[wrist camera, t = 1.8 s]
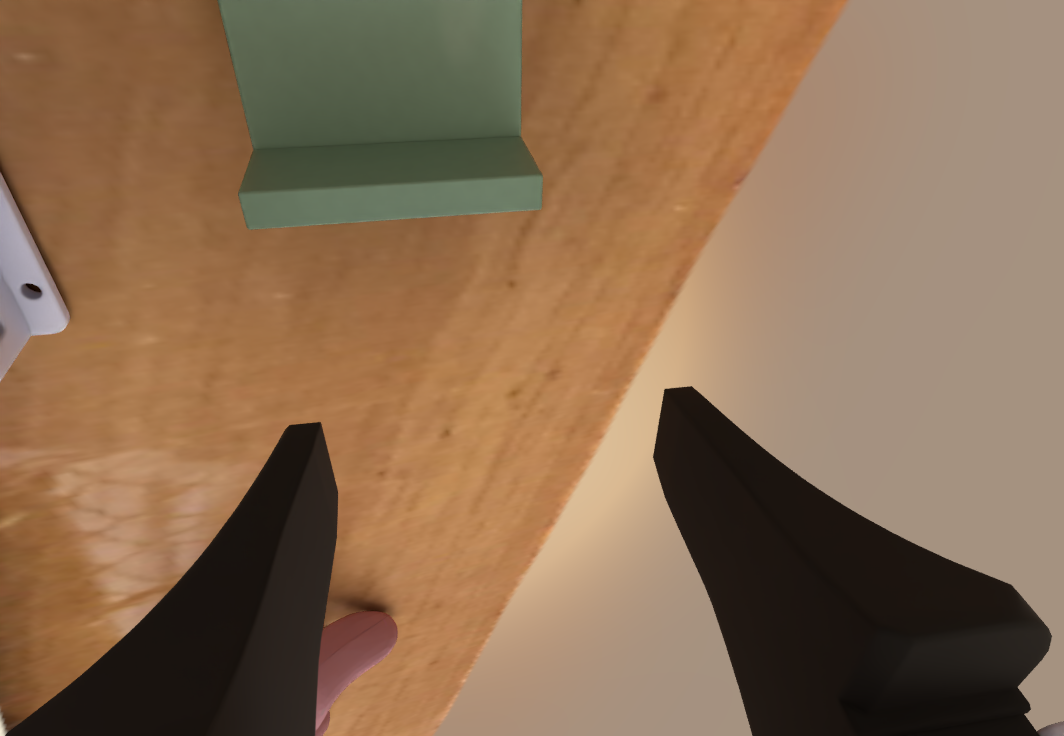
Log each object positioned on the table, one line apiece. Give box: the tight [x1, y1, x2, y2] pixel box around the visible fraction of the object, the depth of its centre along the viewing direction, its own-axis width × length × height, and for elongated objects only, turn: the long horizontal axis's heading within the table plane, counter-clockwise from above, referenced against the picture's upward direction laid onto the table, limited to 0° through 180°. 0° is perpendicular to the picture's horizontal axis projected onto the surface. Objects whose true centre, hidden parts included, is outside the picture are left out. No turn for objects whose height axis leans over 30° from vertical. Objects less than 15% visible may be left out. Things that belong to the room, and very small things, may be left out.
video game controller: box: [315, 611, 398, 736], centre depth 31 cm, size 10×5×7 cm, turn 147°
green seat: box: [218, 0, 543, 230], centre depth 14 cm, size 7×6×6 cm
